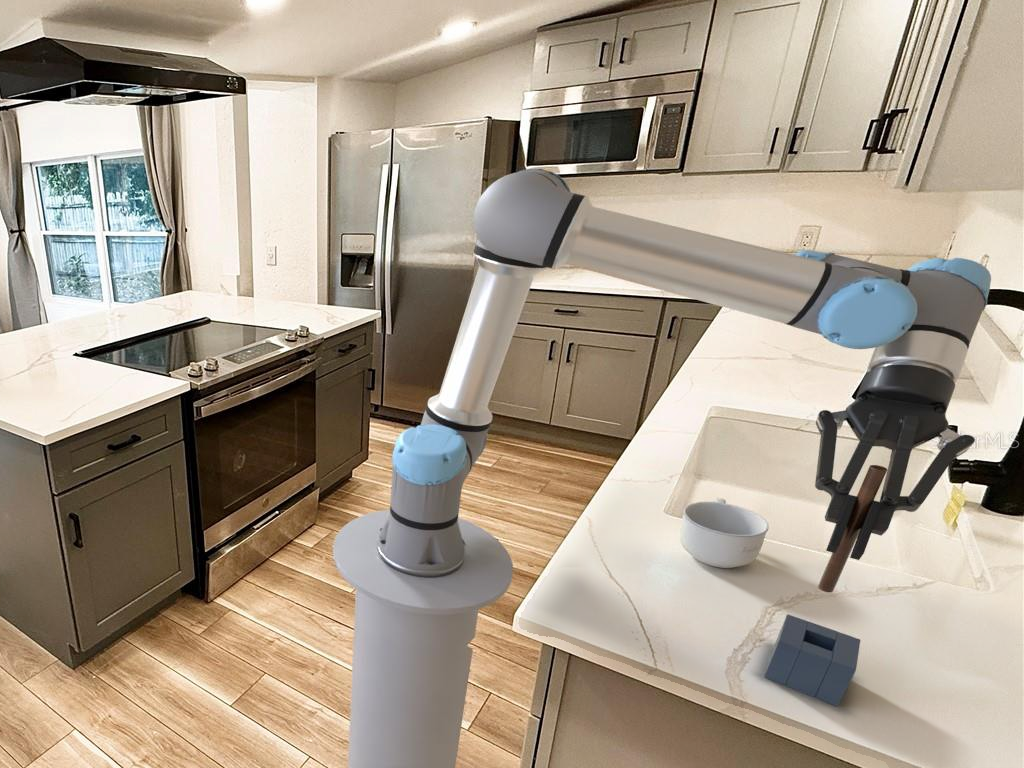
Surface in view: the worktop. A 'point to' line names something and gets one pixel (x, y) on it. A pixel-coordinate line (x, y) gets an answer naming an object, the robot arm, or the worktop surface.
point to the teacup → (722, 533)
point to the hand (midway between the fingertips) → (844, 551)
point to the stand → (813, 659)
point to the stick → (852, 527)
